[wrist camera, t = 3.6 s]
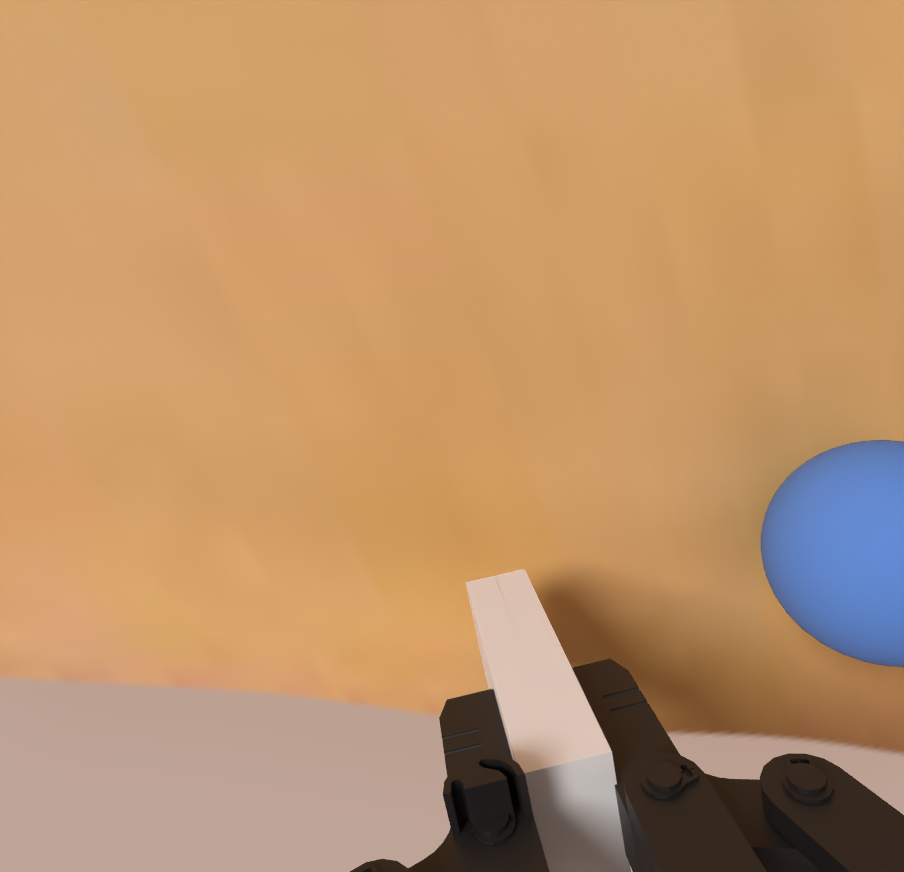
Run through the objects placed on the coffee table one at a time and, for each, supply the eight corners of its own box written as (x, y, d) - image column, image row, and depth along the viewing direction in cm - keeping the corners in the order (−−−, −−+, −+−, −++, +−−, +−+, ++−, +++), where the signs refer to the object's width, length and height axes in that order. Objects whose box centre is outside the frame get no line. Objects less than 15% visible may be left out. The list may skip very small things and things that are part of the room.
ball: (902, 399, 19) (1103, 453, 14) (905, 574, 21) (1088, 684, 15) (713, 441, 19) (845, 513, 14) (730, 616, 20) (855, 743, 15)
